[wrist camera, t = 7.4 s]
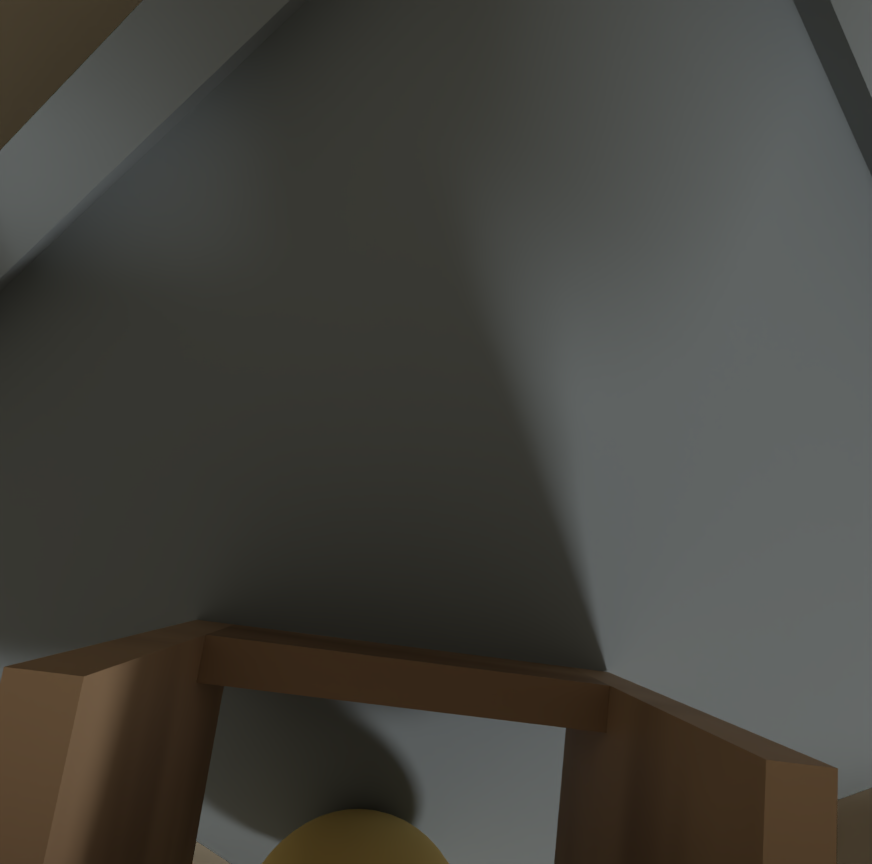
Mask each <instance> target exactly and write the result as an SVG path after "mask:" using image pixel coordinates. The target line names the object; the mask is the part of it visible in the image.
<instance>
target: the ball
mask: <svg viewBox="0 0 872 864" xmlns="http://www.w3.org/2000/svg"><path fill="white" fill-rule="evenodd" d="M262 864H449V863H448V862H447V860H446V859H445V857H444V856H443V854H442V853H441V852H440V850H439V849H438V848H437V847H436V845H435V844H434V843H433V842H432V841H431V840H430V839H429V838H428V837H427V836H426V835H425V834H423V833H422V832H421V831H420V830H419V829H417V828H416V827H415V826H413V825H411V824H410V823H408V822H406V821H405V820H403V819H400V818H398V817H396V816H393V815H391V814H387V813H384V812H380V811H376V810H368V809H346V810H341V811H335V812H331V813H328V814H325V815H322V816H319V817H317V818H315V819H313V820H311V821H309V822H307V823H305V824H304V825H302V826H301V827H299V828H298V829H296V830H294V831H293V832H292V833H291V834H289V835H288V836H287V837H286V838H285V839H283V840H282V841H281V842H280V843H279V844H278V845H277V846H276V847H275V848H274V849H273V850H272V851H271V852H270V854H269V855H268V856H267V858H266V859H265V860H264V861H263V863H262Z"/></svg>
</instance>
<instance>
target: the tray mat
mask: <svg viewBox="0 0 872 864" xmlns="http://www.w3.org/2000/svg"><path fill="white" fill-rule="evenodd" d="M193 620H203V621H211V622H219V623H226V624H234V625H242V626H250V627H258V628H266V629H274V630H282V631H289V632H297V633H305V634H313V635H321V636H329V637H337V638H345V639H353V640H360V641H368V642H376V643H384V644H392V645H400V646H408V647H416V648H423V649H431V650H439V651H447V652H455V653H463V654H471V655H479V656H486V657H494V658H502V659H510V660H518V661H526V662H534V663H542V664H549V665H557V666H565V667H573V668H581V669H589V670H597V671H605V672H609V673H611V674H614V675H616V676H619V677H621V678H623V679H626V680H628V681H631V682H633V683H635V684H638V685H640V686H642V687H645V688H647V689H650V690H652V691H654V692H657V693H659V694H662V695H664V696H666V697H669V698H671V699H673V700H676V701H678V702H681V703H683V704H685V705H688V706H690V707H693V708H695V709H697V710H700V711H702V712H704V713H707V714H709V715H712V716H714V717H716V718H719V719H721V720H724V721H726V722H728V723H731V724H733V725H735V726H738V727H740V728H743V729H745V730H747V731H750V732H752V733H755V734H757V735H759V736H762V737H764V738H766V739H769V740H771V741H774V742H776V743H778V744H781V745H783V746H786V747H788V748H790V749H793V750H795V751H797V752H800V753H802V754H805V755H807V756H809V757H812V758H814V759H817V760H819V761H821V762H824V763H826V764H828V765H831V766H833V767H836V768H838V800H839V799H842V798H844V797H847V796H850V795H853V794H855V793H858V792H861V791H864V790H866V789H869V788H872V0H143V1H142V2H141V3H140V4H139V5H138V6H137V7H136V8H135V9H134V10H133V11H132V12H131V13H130V14H129V15H128V16H127V17H126V18H125V20H124V21H123V22H122V23H121V24H120V25H119V26H118V27H117V28H116V29H115V30H114V31H113V32H112V33H111V34H110V35H109V36H108V37H107V38H106V40H105V41H104V42H103V43H102V44H101V45H100V46H99V47H98V48H97V49H96V50H95V51H94V52H93V53H92V54H91V55H90V56H89V57H88V58H87V60H86V61H85V62H84V63H83V64H82V65H81V66H80V67H79V68H78V69H77V70H76V71H75V72H74V73H73V74H72V75H71V76H70V77H69V78H68V80H67V81H66V82H65V83H64V84H63V85H62V86H61V87H60V88H59V89H58V90H57V91H56V92H55V93H54V94H53V95H52V96H51V97H50V98H49V99H48V101H47V102H46V103H45V104H44V105H43V106H42V107H41V108H40V109H39V110H38V111H37V112H36V113H35V114H34V115H33V116H32V117H31V118H30V119H29V121H28V122H27V123H26V124H25V125H24V126H23V127H22V128H21V129H20V130H19V131H18V132H17V133H16V134H15V135H14V136H13V137H12V138H11V139H10V141H9V142H8V143H7V144H6V145H5V146H4V147H3V148H2V149H1V150H0V681H1V677H2V673H3V669H4V667H5V666H9V665H13V664H17V663H21V662H26V661H30V660H34V659H38V658H42V657H46V656H50V655H54V654H58V653H62V652H66V651H71V650H75V649H79V648H83V647H87V646H91V645H95V644H99V643H103V642H107V641H111V640H116V639H120V638H124V637H128V636H132V635H136V634H140V633H144V632H148V631H152V630H156V629H161V628H165V627H169V626H173V625H177V624H181V623H185V622H189V621H193ZM565 733H566V728H563V727H554V726H546V725H538V724H530V723H522V722H514V721H505V720H497V719H489V718H481V717H473V716H465V715H456V714H448V713H440V712H432V711H424V710H416V709H407V708H399V707H391V706H383V705H375V704H367V703H358V702H350V701H342V700H334V699H326V698H318V697H309V696H301V695H293V694H285V693H277V692H269V691H260V690H252V689H244V688H236V687H228V686H224V688H223V694H222V699H221V705H220V711H219V716H218V722H217V727H216V733H215V738H214V744H213V750H212V755H211V761H210V766H209V772H208V777H207V783H206V789H205V794H204V800H203V805H202V811H201V816H200V822H199V828H198V833H197V839H196V841H197V842H199V843H200V844H202V845H203V846H205V847H206V848H208V849H209V850H211V851H212V852H214V853H215V854H217V855H218V856H220V857H221V858H223V859H225V860H226V861H228V862H229V863H231V864H262V863H263V861H264V860H265V859H266V858H267V856H268V855H269V854H270V852H271V851H272V850H273V849H274V848H275V847H276V846H277V845H278V844H279V843H280V842H281V841H282V840H283V839H285V838H286V837H287V836H288V835H289V834H291V833H292V832H293V831H294V830H296V829H298V828H299V827H301V826H302V825H304V824H305V823H307V822H309V821H311V820H313V819H315V818H317V817H319V816H322V815H325V814H328V813H331V812H335V811H341V810H346V809H368V810H376V811H380V812H384V813H387V814H391V815H393V816H396V817H398V818H400V819H403V820H405V821H406V822H408V823H410V824H411V825H413V826H415V827H416V828H417V829H419V830H420V831H421V832H422V833H423V834H425V835H426V836H427V837H428V838H429V839H430V840H431V841H432V842H433V843H434V844H435V845H436V847H437V848H438V849H439V850H440V852H441V853H442V854H443V856H444V857H445V859H446V860H447V862H448V863H449V864H554V859H555V848H556V836H557V825H558V813H559V802H560V790H561V779H562V767H563V756H564V744H565Z"/></svg>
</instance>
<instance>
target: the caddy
mask: <svg viewBox="0 0 872 864" xmlns="http://www.w3.org/2000/svg"><path fill="white" fill-rule="evenodd" d="M224 686H228V687H236V688H244V689H252V690H260V691H269V692H277V693H285V694H293V695H301V696H309V697H318V698H326V699H334V700H342V701H350V702H358V703H367V704H375V705H383V706H391V707H399V708H407V709H416V710H424V711H432V712H440V713H448V714H456V715H465V716H473V717H481V718H489V719H497V720H505V721H514V722H522V723H530V724H538V725H546V726H554V727H563V728H566V733H565V744H564V756H563V767H562V779H561V790H560V802H559V813H558V825H557V836H556V848H555V859H554V864H837V802H838V768H836V767H833V766H831V765H828V764H826V763H824V762H821V761H819V760H817V759H814V758H812V757H809V756H807V755H805V754H802V753H800V752H797V751H795V750H793V749H790V748H788V747H786V746H783V745H781V744H778V743H776V742H774V741H771V740H769V739H766V738H764V737H762V736H759V735H757V734H755V733H752V732H750V731H747V730H745V729H743V728H740V727H738V726H735V725H733V724H731V723H728V722H726V721H724V720H721V719H719V718H716V717H714V716H712V715H709V714H707V713H704V712H702V711H700V710H697V709H695V708H693V707H690V706H688V705H685V704H683V703H681V702H678V701H676V700H673V699H671V698H669V697H666V696H664V695H662V694H659V693H657V692H654V691H652V690H650V689H647V688H645V687H642V686H640V685H638V684H635V683H633V682H631V681H628V680H626V679H623V678H621V677H619V676H616V675H614V674H611V673H609V672H605V671H597V670H589V669H581V668H573V667H565V666H557V665H549V664H542V663H534V662H526V661H518V660H510V659H502V658H494V657H486V656H479V655H471V654H463V653H455V652H447V651H439V650H431V649H423V648H416V647H408V646H400V645H392V644H384V643H376V642H368V641H360V640H353V639H345V638H337V637H329V636H321V635H313V634H305V633H297V632H289V631H282V630H274V629H266V628H258V627H250V626H242V625H234V624H226V623H219V622H211V621H203V620H193V621H189V622H185V623H181V624H177V625H173V626H169V627H165V628H161V629H156V630H152V631H148V632H144V633H140V634H136V635H132V636H128V637H124V638H120V639H116V640H111V641H107V642H103V643H99V644H95V645H91V646H87V647H83V648H79V649H75V650H71V651H66V652H62V653H58V654H54V655H50V656H46V657H42V658H38V659H34V660H30V661H26V662H21V663H17V664H13V665H9V666H5V667H4V669H3V673H2V677H1V681H0V864H192V861H193V855H194V850H195V844H196V839H197V833H198V828H199V822H200V816H201V811H202V805H203V800H204V794H205V789H206V783H207V777H208V772H209V766H210V761H211V755H212V750H213V744H214V738H215V733H216V727H217V722H218V716H219V711H220V705H221V699H222V694H223V688H224Z"/></svg>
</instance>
